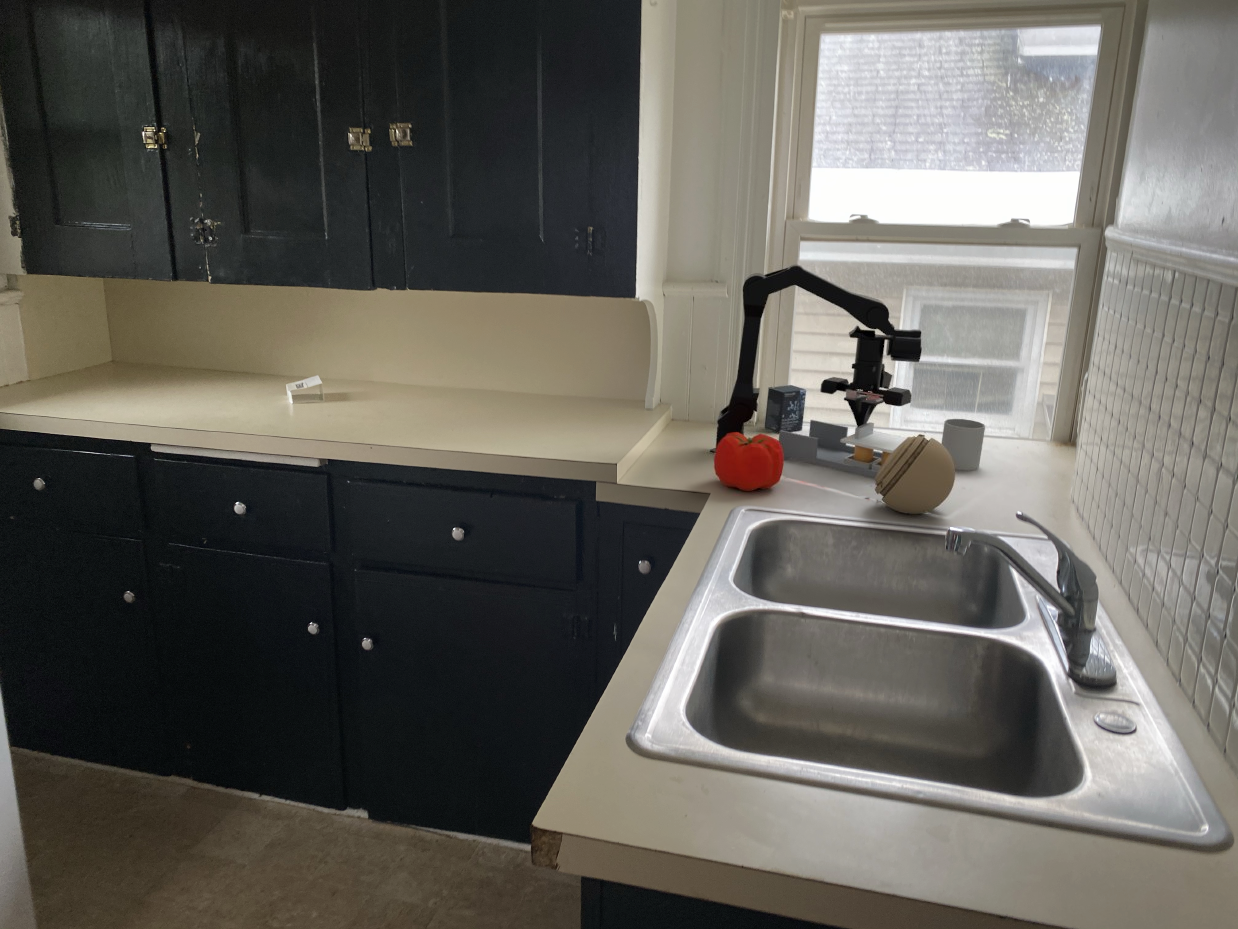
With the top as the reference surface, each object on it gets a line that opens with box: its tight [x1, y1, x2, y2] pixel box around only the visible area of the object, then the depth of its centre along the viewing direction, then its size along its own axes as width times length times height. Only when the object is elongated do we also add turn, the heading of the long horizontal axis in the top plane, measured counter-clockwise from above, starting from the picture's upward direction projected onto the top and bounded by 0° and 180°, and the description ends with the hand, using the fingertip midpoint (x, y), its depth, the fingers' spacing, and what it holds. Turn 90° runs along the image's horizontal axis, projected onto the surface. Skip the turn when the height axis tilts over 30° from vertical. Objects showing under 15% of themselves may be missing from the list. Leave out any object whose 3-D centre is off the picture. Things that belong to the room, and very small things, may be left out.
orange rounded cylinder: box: [853, 445, 875, 463], centre depth 208 cm, size 4×4×5 cm
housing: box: [778, 419, 882, 479], centre depth 210 cm, size 15×26×6 cm, turn 51°
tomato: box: [713, 432, 785, 492], centre depth 191 cm, size 14×13×10 cm
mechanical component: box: [874, 433, 956, 515], centre depth 179 cm, size 15×15×15 cm
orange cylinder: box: [881, 451, 892, 466], centre depth 204 cm, size 4×4×5 cm
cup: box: [940, 418, 986, 471], centre depth 210 cm, size 8×8×10 cm
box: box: [764, 384, 807, 434], centre depth 236 cm, size 8×6×11 cm
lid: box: [840, 421, 909, 453], centre depth 205 cm, size 13×12×3 cm
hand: (860, 429), depth 209 cm, fingers closed
